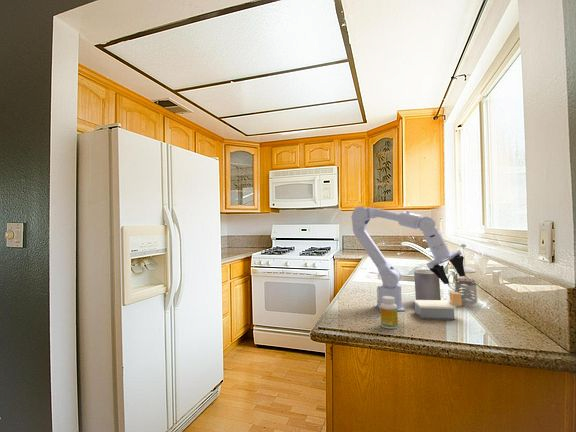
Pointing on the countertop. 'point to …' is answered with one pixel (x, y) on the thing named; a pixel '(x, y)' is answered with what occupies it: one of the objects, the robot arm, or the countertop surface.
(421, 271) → the pillar candle
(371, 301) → the countertop surface
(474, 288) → the french press
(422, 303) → the lid
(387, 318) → the supplement bottle
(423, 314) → the tub
